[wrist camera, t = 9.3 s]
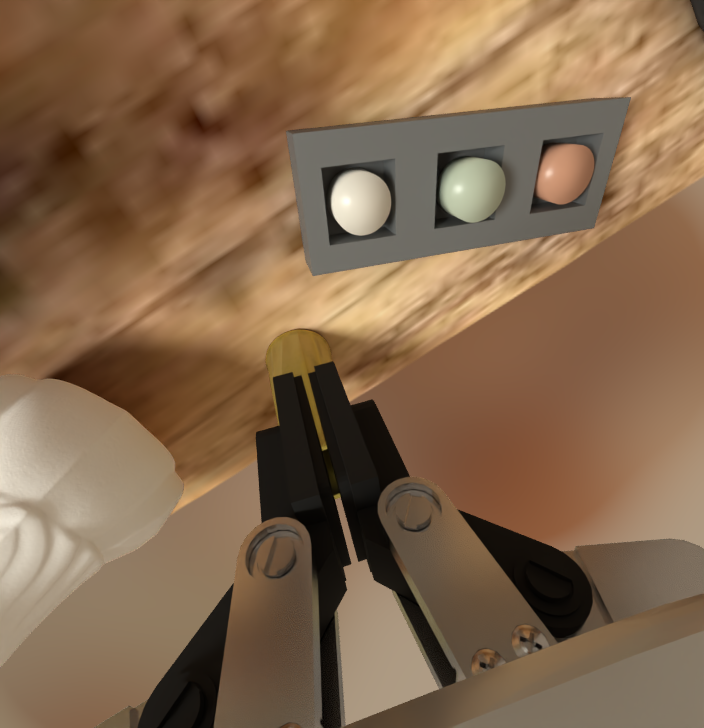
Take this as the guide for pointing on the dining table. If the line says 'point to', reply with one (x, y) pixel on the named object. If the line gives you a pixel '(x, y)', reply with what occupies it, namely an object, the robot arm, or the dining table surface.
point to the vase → (300, 357)
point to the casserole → (699, 11)
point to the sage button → (470, 188)
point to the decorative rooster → (70, 495)
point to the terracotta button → (563, 172)
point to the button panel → (422, 169)
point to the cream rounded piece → (358, 201)
